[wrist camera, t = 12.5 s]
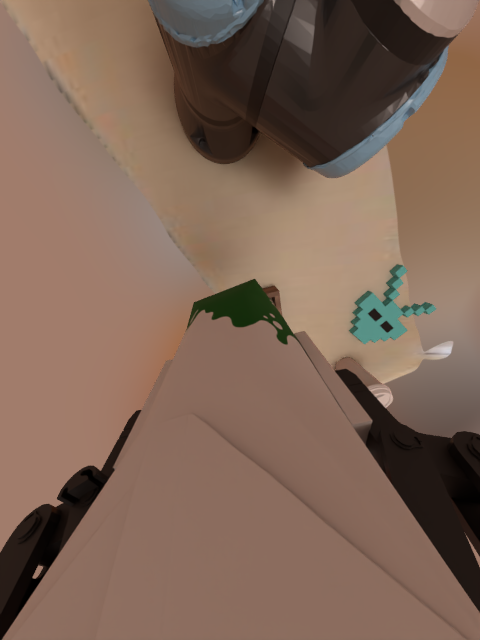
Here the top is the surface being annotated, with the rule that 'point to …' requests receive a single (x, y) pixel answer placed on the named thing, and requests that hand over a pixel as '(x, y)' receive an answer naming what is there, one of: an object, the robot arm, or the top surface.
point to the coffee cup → (367, 380)
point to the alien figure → (384, 312)
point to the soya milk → (247, 512)
